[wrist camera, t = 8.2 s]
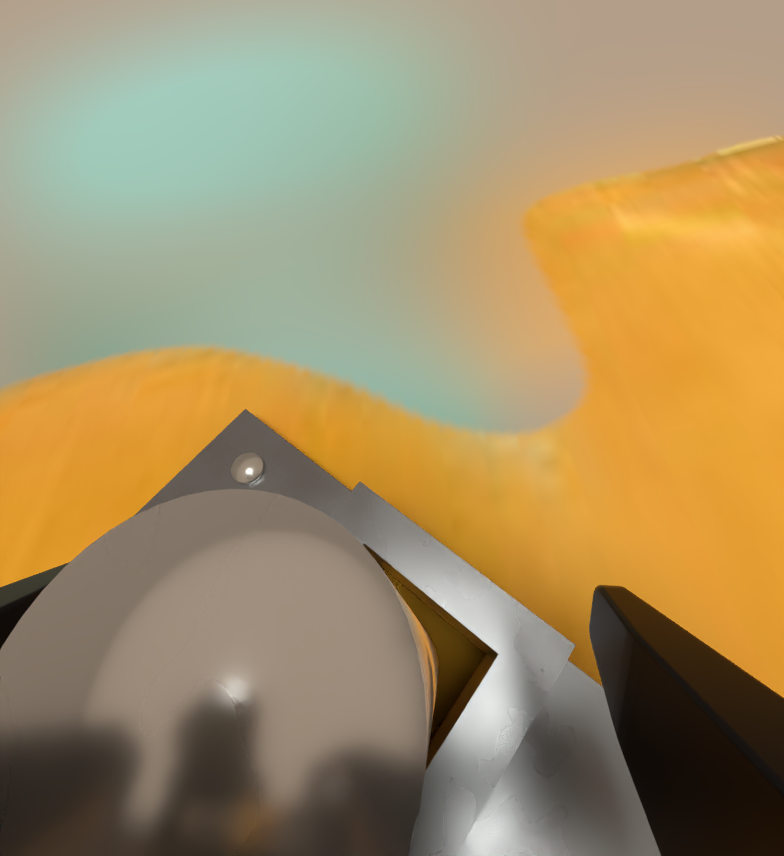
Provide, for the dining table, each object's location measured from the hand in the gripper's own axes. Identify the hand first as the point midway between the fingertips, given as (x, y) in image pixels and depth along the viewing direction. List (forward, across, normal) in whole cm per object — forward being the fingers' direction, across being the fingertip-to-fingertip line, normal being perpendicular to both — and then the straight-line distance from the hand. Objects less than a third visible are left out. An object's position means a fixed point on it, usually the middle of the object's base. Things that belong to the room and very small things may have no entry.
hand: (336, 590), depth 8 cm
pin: (+6, 0, +8) cm, 10 cm away
